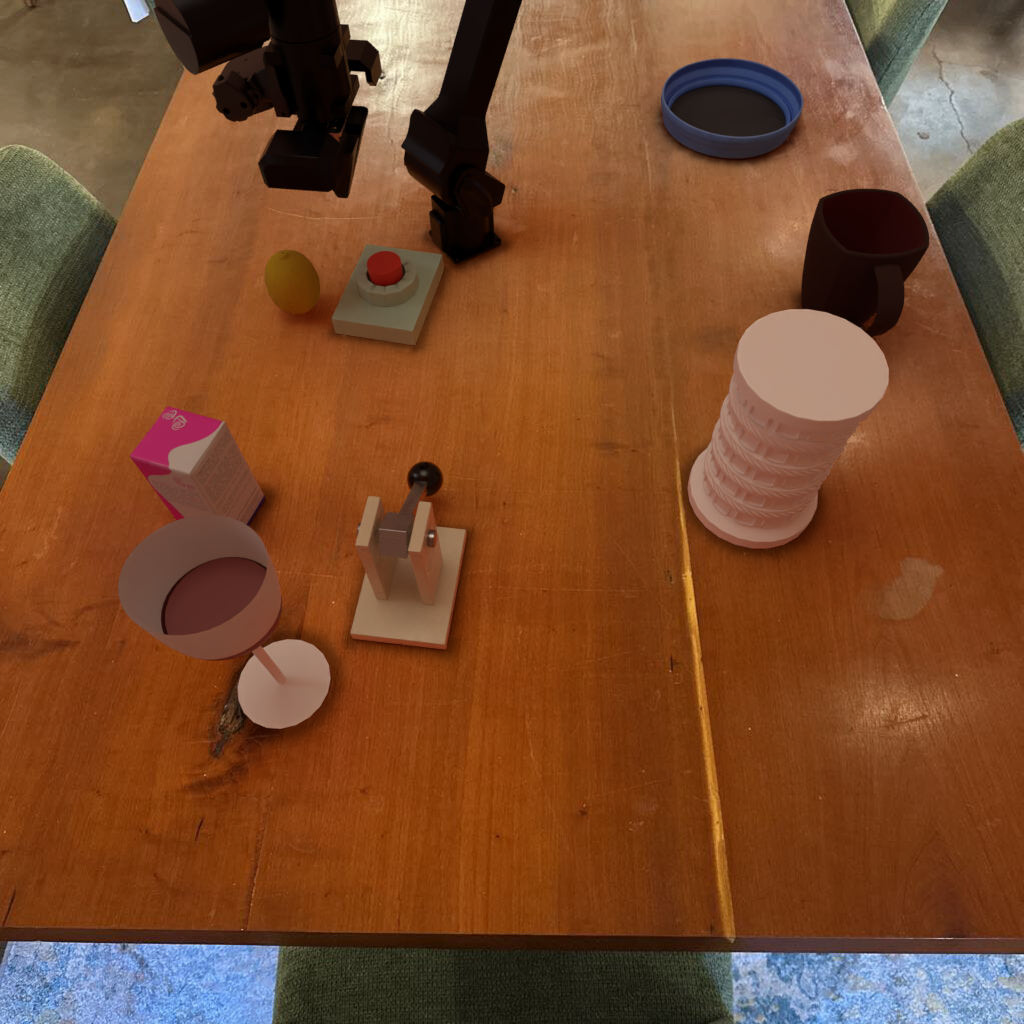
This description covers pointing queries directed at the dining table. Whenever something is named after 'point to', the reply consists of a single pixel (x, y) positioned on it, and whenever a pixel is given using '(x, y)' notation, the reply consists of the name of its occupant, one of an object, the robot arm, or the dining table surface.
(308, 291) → the lemon
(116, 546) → the dining table surface
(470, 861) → the dining table surface
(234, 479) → the supplement box
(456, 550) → the bracket
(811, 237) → the cup
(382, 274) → the button
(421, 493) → the lever
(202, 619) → the wineglass
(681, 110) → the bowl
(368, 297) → the button block
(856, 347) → the decorative container
